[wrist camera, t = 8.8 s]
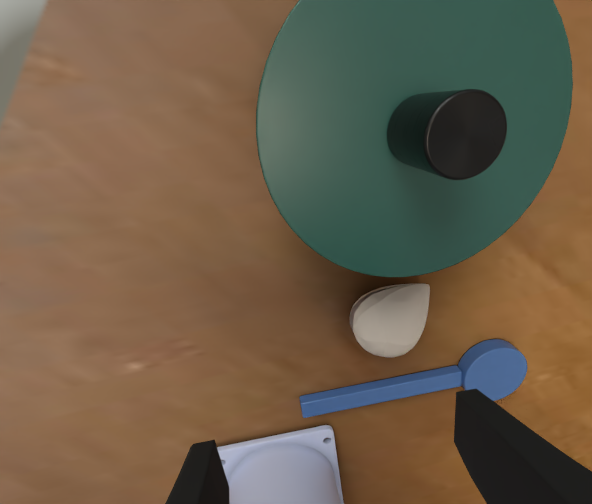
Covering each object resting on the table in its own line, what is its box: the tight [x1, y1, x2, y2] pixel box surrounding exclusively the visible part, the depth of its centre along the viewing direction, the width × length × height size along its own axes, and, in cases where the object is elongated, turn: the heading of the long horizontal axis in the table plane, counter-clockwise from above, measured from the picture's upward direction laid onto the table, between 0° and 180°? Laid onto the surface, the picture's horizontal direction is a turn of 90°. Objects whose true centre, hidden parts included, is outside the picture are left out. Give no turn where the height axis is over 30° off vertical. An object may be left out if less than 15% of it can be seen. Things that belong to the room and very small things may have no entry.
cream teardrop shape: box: [350, 283, 430, 357], centre depth 20 cm, size 4×5×2 cm
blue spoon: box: [299, 339, 527, 418], centre depth 23 cm, size 4×15×1 cm, turn 98°
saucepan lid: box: [256, 0, 573, 277], centre depth 11 cm, size 10×10×4 cm
